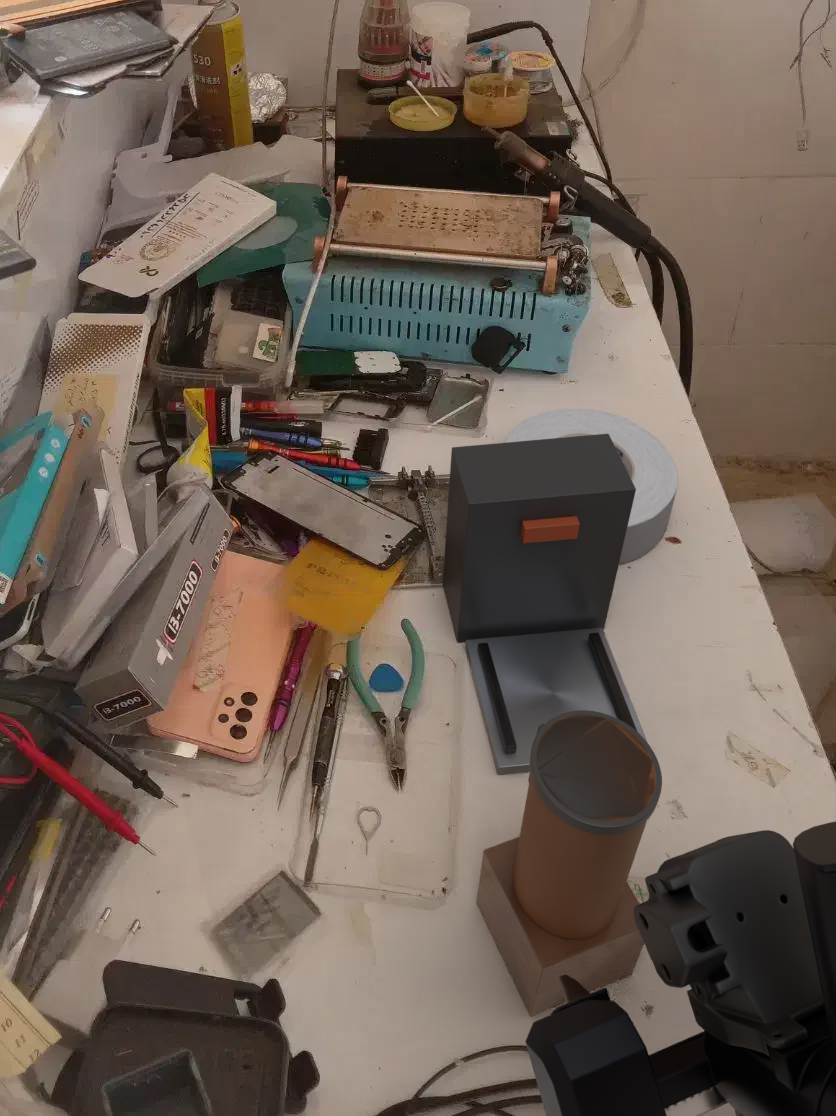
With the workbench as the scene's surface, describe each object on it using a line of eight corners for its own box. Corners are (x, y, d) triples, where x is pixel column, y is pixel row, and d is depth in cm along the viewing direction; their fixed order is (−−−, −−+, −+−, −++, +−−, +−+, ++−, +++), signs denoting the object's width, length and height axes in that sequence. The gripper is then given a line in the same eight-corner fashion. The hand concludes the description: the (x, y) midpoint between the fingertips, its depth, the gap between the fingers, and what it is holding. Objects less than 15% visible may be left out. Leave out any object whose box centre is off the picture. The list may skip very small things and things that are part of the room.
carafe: (644, 920, 57) (689, 801, 49) (544, 960, 55) (573, 846, 47) (570, 795, 63) (599, 672, 55) (478, 829, 61) (494, 708, 53)
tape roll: (639, 593, 83) (649, 552, 80) (468, 527, 90) (472, 487, 87) (688, 479, 93) (699, 439, 90) (531, 427, 100) (536, 389, 97)
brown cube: (632, 974, 61) (652, 923, 57) (530, 1017, 59) (542, 968, 55) (571, 865, 66) (585, 811, 62) (475, 902, 65) (483, 849, 60)
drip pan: (649, 760, 72) (654, 747, 70) (497, 775, 71) (499, 761, 70) (600, 634, 80) (603, 620, 79) (464, 647, 80) (466, 633, 79)
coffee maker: (607, 637, 80) (640, 497, 70) (459, 651, 80) (471, 512, 70) (581, 572, 85) (608, 433, 76) (442, 584, 85) (451, 447, 75)
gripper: (1019, 806, 37) (753, 730, 52) (579, 988, 33) (428, 850, 49) (1129, 1118, 36) (823, 948, 51) (683, 1347, 32) (495, 1089, 47)
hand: (646, 951), depth 50 cm, fingers open, 9 cm apart
